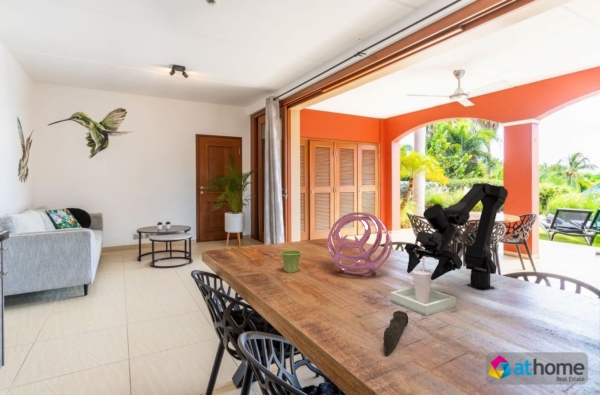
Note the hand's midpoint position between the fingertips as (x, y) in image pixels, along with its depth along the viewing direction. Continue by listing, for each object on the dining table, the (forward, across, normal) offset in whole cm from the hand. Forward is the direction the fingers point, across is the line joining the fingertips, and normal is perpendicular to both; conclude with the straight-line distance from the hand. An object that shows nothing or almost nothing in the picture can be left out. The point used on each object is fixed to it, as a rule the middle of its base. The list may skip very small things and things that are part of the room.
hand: (419, 275), depth 101 cm
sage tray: (+6, 0, +8) cm, 10 cm away
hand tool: (+23, +12, -9) cm, 28 cm away
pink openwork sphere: (+2, -40, +12) cm, 41 cm away
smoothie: (+5, 0, +7) cm, 9 cm away
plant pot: (+18, -57, -4) cm, 60 cm away
